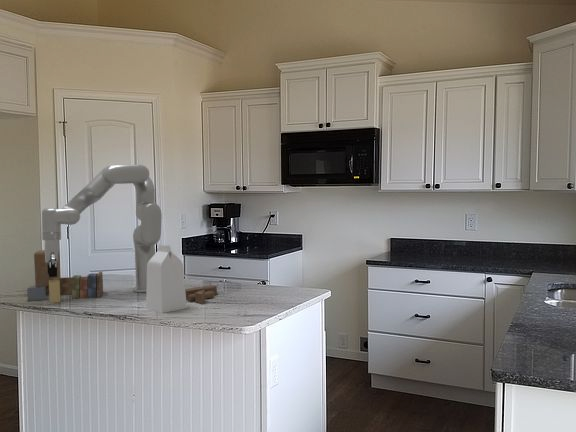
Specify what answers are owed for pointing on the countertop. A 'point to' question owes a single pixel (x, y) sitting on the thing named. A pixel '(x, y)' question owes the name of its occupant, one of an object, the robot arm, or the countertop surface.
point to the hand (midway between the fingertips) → (52, 275)
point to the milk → (165, 282)
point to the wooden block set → (200, 293)
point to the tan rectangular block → (54, 291)
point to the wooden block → (43, 268)
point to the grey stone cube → (38, 292)
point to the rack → (82, 285)
